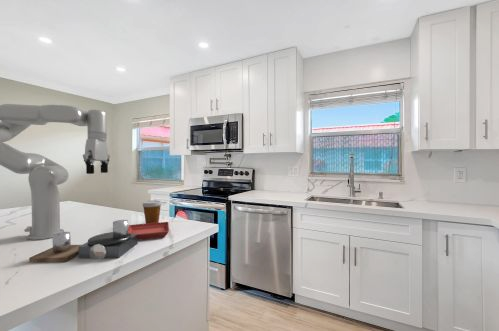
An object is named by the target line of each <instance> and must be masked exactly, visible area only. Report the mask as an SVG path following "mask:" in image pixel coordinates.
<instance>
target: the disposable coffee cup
mask: <svg viewBox="0 0 499 331" xmlns="http://www.w3.org/2000/svg"><path fill="white" fill-rule="evenodd" d="M161 206H162V201H161V200H146V201H145V200H144V201H143V203H142V207H143V213H144V220H145V224H148V223H159V221H160V214H161Z"/></svg>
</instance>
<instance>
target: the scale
mask: <svg viewBox="0 0 499 331" xmlns="http://www.w3.org/2000/svg"><path fill="white" fill-rule="evenodd" d="M138 242H139V240H138V234H130V233H128V237H127V238H124V239H113V231H111V232H105V233H101V234H96V235H93V236H92V237H89V238H88V239H87V242H85V243H83V244H80V245H81V246H79V247H78V255H77V257H78V259H92V260H103V259H119V258H121V257H122V256H124V255H125V254H126V253H128V252H130V251H131V250H132V248H134V247H135V246H137V245H138Z"/></svg>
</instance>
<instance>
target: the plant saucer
mask: <svg viewBox="0 0 499 331" xmlns="http://www.w3.org/2000/svg"><path fill="white" fill-rule="evenodd" d="M169 226H170V224H169V221H163V222H162V221H161V222H159V223H148V224H146V223H139V224H130V225H129V224H128V233H130V234H138V241H139V240H148V239H149V240H150V239H159V238H164V237H165V238H166V236H167V235H168V233H169V232H170V227H169Z"/></svg>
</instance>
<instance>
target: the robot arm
mask: <svg viewBox="0 0 499 331" xmlns="http://www.w3.org/2000/svg"><path fill="white" fill-rule="evenodd" d="M48 123H62V124H63V123H65V124H70V125H71V124H72V125H75V126H78V127H87V128H86V129H87V139H86V141H85V144H84V145H85V146H84V154H82V159H83V162H84V165H86V166H85V167H86V169H85V170H86V174H87V175H92V174H95V165H94V163H95V161H96V162H100V163H101V164H100V173H101V174H103V173H104V174H105V173H106V174H107V173H109V167H108V166H109V162H110V157H111V156H110V154H109V153H108V151H109V149H108V141H107V138H108V137H107V113H106V112H105V110H104V111H103V110H100V109H89V110H88V111H86V110H84V109H81V108H79V107H76V106H72V105H63V104H44V105H32V104H18V103H17V104H16V103H5V104H4V103H2V104H0V166H2V168H5V169H7V170H9V171H11V172H13V173H15V174H20V175H28V184H29V188H30V194H31V195H30V196H31V201H30V202H31V225H30V226H26V228H24V232H29V234H28V235H27V236H26V238H27V240H29V241H30V240H31V241H35V240H36V241H37V240H38V241H39V240H45V239H46V240H47V239H51V238H52V235H53V234H56V233H60V232H65V230H64V229H63V228H61V214H60V213H61V207H60V206H61V202H60V201H61V200H60V192H59V188H58V185H63V184H64V183H65V182H67V181H68V179H69V171H68V170H67V168H65V167H64V166H63V165H60V164H59V163H57V162H55V161H53V160H52V159H50V158H48V157H46V156H44V155H41V154H39V153H33V152H24V151H21V150H19V149H16V147H15V148H14V147H13V146H11V145H9V144H8V143H5V142H8V141H11V140H12V139H14V138H16V137H17V136H18V135H20V134H21V133H23V132H25V130H26V129H27V128H29V127H31V126H32V125H34V126H44V125H47V124H48Z"/></svg>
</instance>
